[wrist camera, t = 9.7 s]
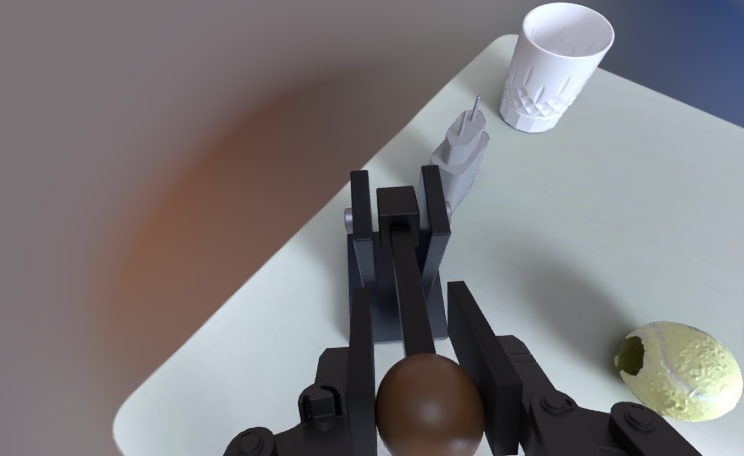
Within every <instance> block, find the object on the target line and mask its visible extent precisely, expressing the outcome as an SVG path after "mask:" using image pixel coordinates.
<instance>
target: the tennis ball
mask: <svg viewBox="0 0 744 456" xmlns="http://www.w3.org/2000/svg"><path fill="white" fill-rule="evenodd" d="M614 362H615V366H616V367H618V368H619V373H620V374H621V377H622V379H623V381H624V382H625V384H626V386H628V387H629V389H630V390H631V391H632V393H633V394H634V395H635V396H636V397H637V398H638V399H639V400H640V401H641V402H642V403H643V404H645V405H646V406H647V407H648V408H650V409H651V410H653V411H655V412H657V413H659V414H660V416H661V417H662V416H668V417H671V418H674V419H677V420H684V421H690V422H697V421H698V422H700V421H706V420H711V419H715V418H718V417H720V416H723V415H724V414H725V413H727V412H728V411H730V410H732V409H733V408H734V407H735V405H736V403H737V402H738V401H739V398H740V396H741V393H742V385H743V380H742V375H741V372H740V369H739V367H738V365H737V362H736V360H735V358H734V356H733V355H732V354H731V352H730V351H729V350H728V349H727V348H726V347H725V346H723V345H722V344H721V343H720V342H719V341H718V340H716V339H715V338H713V337H712V336H711V335H709V334H707V333H706V332H703V331H701V330H699V329H696V328H695V327H691V326H687V325H684V324H679V323H675V322H666V321H665V322H664V321H662V322H653V323H649V324H647V325H644V326H643V327H640V328H637V329H635V330H634V331H632V332H631V333H630V334H628V335H627V336H626V338H625V339H624V341H623V342H621V346H620V348H619V350H618V355H617V356H615V361H614Z"/></svg>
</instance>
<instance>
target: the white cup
mask: <svg viewBox="0 0 744 456" xmlns="http://www.w3.org/2000/svg"><path fill="white" fill-rule="evenodd" d="M613 41H614V31H613V28H612V26H611V25H610V23H609V22H608V21H607V20H606V19H605V18H604V17H603V16H602V15H601V14H599V13H597V12H596V11H594V10H592V9H589V8H587V7H584V6H581V5H577V4H571V3H550V4H545V5H542V6H539V7H537V8H535V9H533V10H532V11H530V12H529V13H528V14H527V15H526V17H525V18H524V20H523V24H522V27H521V30H520V34H519V37H518V40H517V44H516V47H515V50H514V53H513V57H512V60H511V63H510V67H509V71H508V75H507V78H506V82H505V86H504V91H503V94H502V98H501V101H500V113H501V115H502V117H503V119H504V121H505V122H507V123H508V124H509V125H511V126H512V127H513V128H515V129H518V130H521V131H524V132H527V133H537V132H544V131H546V130H548V129H551V128H553V127H554V126H555V125H556V123H557V122H558V120H559V119H560V118H561V116H562V115H563V113H564V112H565V110H566V109H567V108H568V107H569V106H570V105H571V104H572V102H573V100H574V99H575V98H576V97H577V95H578V94H579V92H580V91H581V89H582V88H583V87H584V85H585V84H586V82H587V81H588V79H589V78H590V76H591V75H592V73H593V72H594V70H595V69H596V67H597V66H598V64H599V63H600V62H601V60H602V59H603V57H604V56H605V54H606V52H607V51H608V50H609V48H610V47H611V45H612V43H613Z"/></svg>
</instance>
